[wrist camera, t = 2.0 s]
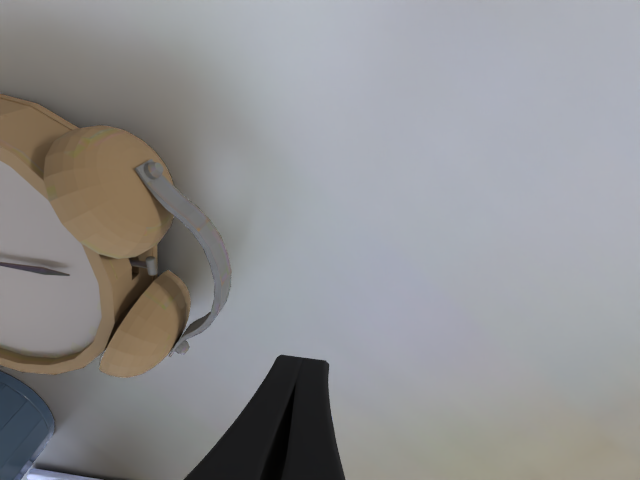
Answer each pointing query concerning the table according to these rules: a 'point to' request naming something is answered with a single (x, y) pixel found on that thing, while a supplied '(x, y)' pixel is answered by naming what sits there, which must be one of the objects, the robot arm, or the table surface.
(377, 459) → the table surface
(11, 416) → the pen pot
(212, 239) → the alarm clock
